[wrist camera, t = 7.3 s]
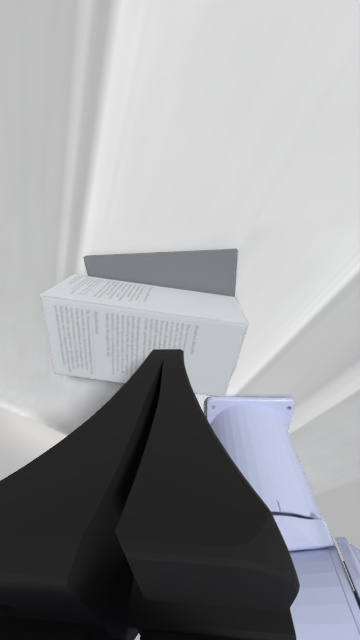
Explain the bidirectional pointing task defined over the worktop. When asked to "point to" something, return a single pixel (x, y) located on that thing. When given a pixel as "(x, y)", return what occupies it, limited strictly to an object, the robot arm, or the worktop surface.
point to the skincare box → (141, 330)
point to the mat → (171, 269)
